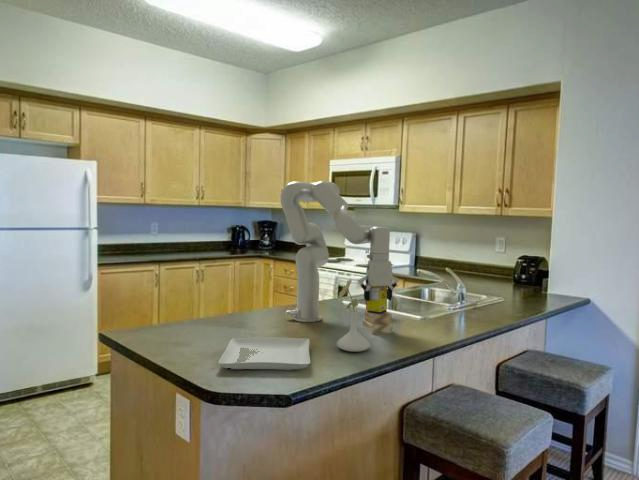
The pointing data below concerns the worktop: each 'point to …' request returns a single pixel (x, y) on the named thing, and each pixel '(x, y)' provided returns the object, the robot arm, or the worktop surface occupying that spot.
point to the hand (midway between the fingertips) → (378, 300)
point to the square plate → (268, 353)
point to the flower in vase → (352, 328)
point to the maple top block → (378, 318)
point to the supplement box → (377, 300)
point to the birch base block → (377, 328)
